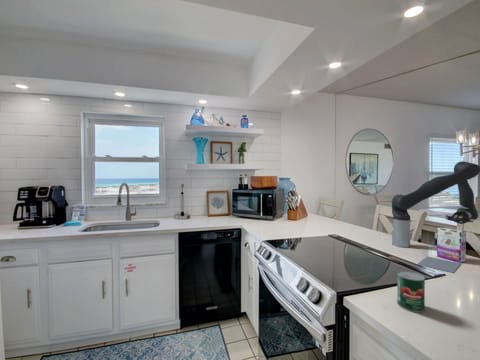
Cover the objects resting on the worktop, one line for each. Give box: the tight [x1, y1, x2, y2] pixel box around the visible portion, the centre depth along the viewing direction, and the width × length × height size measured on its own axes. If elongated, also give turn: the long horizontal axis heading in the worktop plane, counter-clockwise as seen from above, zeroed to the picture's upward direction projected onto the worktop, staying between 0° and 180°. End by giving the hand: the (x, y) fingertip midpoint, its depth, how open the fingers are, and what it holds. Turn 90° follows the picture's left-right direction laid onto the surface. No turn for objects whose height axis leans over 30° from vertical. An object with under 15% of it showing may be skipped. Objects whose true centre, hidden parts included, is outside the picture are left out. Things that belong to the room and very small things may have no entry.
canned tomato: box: [396, 270, 426, 313], centre depth 83 cm, size 8×8×11 cm
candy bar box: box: [436, 227, 467, 264], centre depth 130 cm, size 11×5×16 cm, turn 21°
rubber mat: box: [417, 256, 462, 274], centre depth 123 cm, size 14×18×1 cm
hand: (455, 220), depth 137 cm, fingers closed
